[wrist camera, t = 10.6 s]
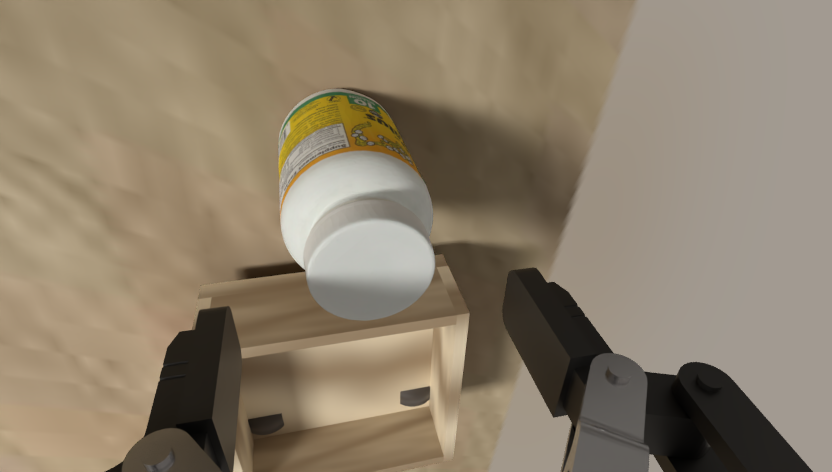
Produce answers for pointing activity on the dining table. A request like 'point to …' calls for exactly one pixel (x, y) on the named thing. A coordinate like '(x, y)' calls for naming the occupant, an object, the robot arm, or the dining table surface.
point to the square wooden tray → (344, 378)
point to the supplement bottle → (354, 206)
